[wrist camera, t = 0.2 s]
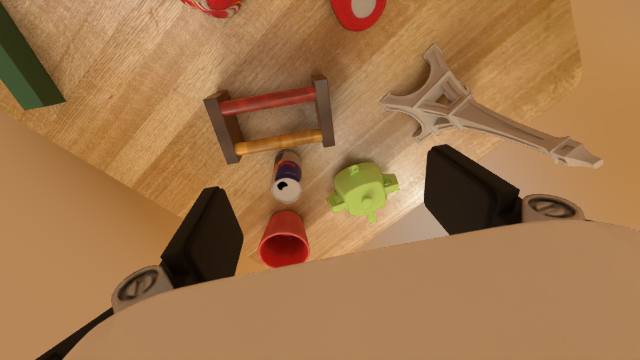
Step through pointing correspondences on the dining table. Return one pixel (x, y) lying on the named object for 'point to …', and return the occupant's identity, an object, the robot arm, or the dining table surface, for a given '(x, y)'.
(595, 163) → the eiffel tower
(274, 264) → the flower pot
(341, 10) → the tracker holder
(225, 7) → the soda can
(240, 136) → the rod stand
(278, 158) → the energy drink
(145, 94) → the dining table surface
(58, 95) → the green bar
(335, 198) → the lime green knobbed part
